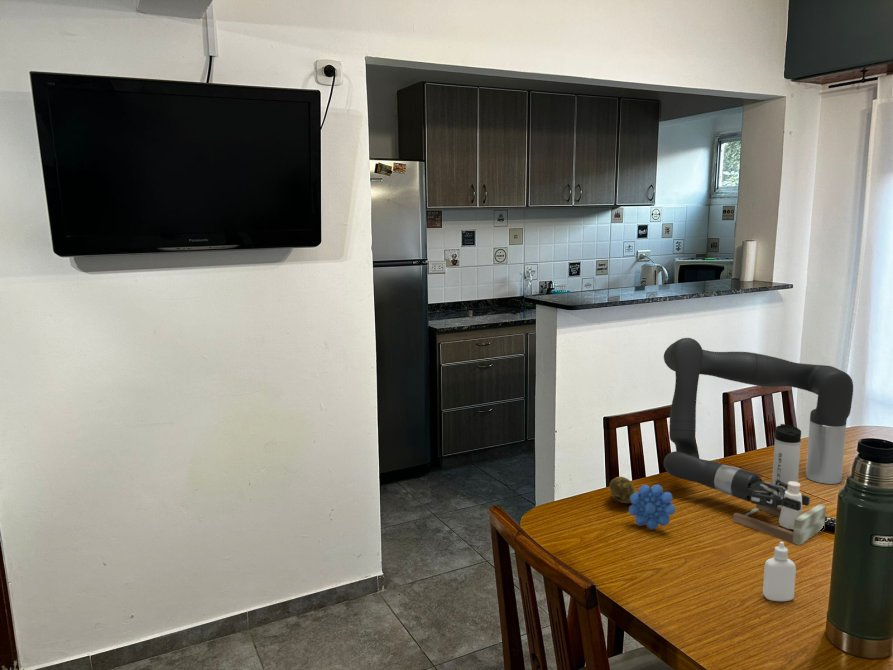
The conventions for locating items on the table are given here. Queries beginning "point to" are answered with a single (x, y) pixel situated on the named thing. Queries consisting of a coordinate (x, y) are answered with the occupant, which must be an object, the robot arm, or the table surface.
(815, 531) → the frame
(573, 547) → the table surface
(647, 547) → the table surface
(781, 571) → the eye dropper bottle
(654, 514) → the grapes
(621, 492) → the potato
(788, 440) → the travel mug
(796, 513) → the salt shaker
